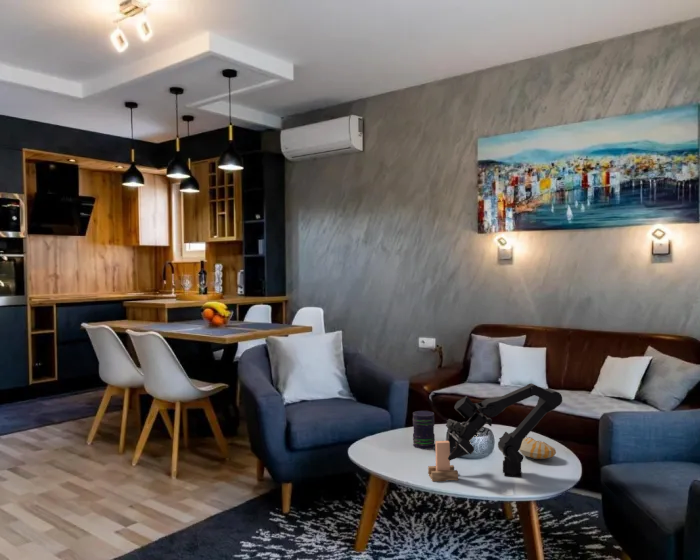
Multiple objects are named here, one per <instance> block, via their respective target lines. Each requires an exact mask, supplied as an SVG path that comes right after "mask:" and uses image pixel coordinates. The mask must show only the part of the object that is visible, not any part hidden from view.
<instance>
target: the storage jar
mask: <svg viewBox="0 0 700 560" xmlns="http://www.w3.org/2000/svg"><path fill="white" fill-rule="evenodd" d="M412 426H413V433H412V441H413V444H412V445H413V447H414V448H416V449H421V450H430V449H433V448H435V441H436V439H435V438H436V437H435V433H434V432H435V430H434V429H435V428H434V427H435V413H434V412H433V411H430V410H416V411H413V412H412Z"/></svg>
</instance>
